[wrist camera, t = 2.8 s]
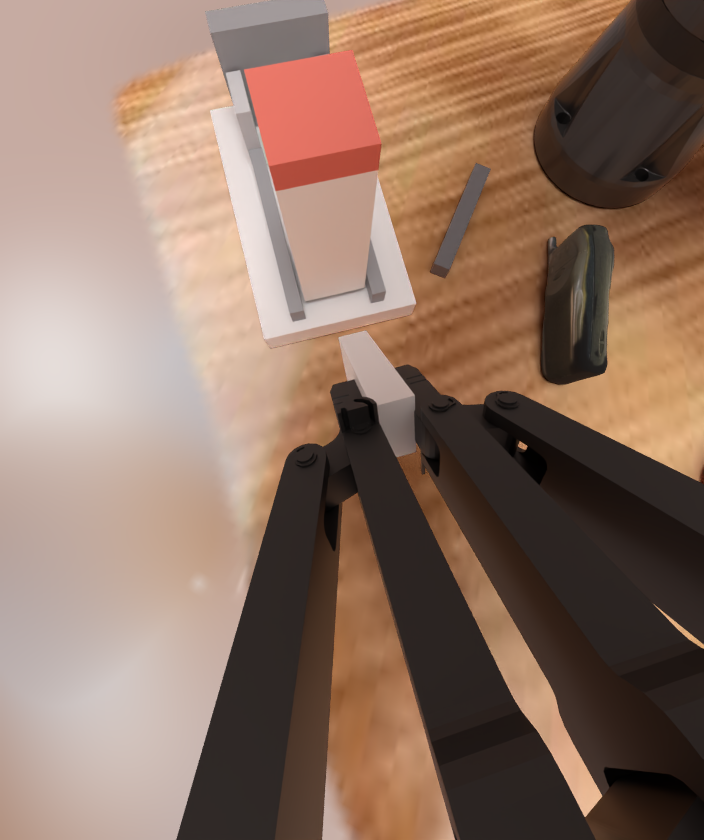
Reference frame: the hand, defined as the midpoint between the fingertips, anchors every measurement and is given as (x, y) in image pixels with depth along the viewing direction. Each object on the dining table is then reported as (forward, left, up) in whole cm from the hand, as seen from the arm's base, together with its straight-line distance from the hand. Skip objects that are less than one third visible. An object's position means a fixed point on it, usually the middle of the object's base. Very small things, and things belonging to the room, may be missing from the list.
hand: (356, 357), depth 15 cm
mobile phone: (-20, +10, -11) cm, 25 cm away
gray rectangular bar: (-21, -3, -11) cm, 24 cm away
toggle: (-7, -9, -8) cm, 14 cm away
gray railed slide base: (-11, -15, -11) cm, 21 cm away
